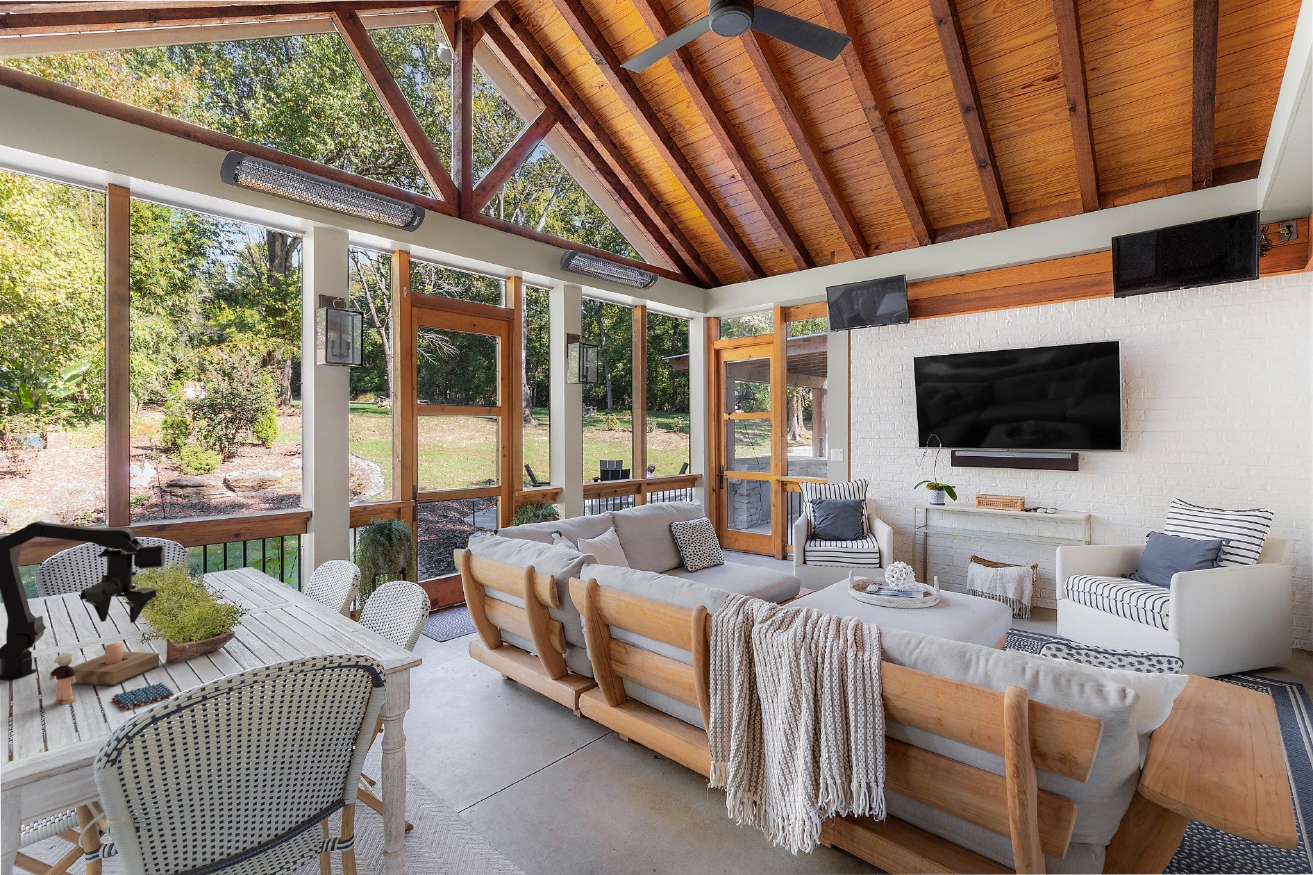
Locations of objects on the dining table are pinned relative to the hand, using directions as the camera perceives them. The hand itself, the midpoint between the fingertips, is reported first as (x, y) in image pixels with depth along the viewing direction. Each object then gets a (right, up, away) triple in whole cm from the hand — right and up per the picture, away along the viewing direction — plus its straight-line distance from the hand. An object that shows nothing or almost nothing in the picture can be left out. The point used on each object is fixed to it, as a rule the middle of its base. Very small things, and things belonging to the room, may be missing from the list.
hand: (118, 622), depth 177 cm
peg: (+7, -12, -9) cm, 17 cm away
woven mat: (+28, -14, -23) cm, 38 cm away
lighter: (+17, -13, +3) cm, 21 cm away
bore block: (+7, -12, -9) cm, 17 cm away
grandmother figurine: (+10, -13, -26) cm, 30 cm away
